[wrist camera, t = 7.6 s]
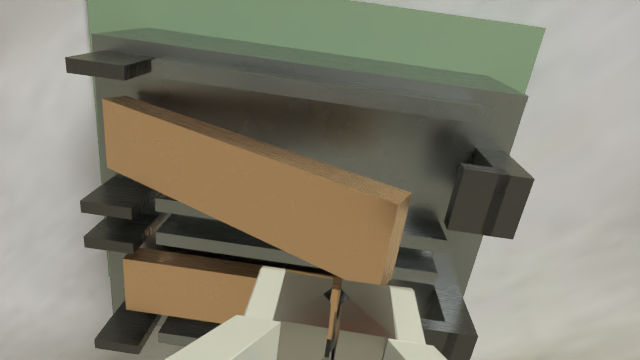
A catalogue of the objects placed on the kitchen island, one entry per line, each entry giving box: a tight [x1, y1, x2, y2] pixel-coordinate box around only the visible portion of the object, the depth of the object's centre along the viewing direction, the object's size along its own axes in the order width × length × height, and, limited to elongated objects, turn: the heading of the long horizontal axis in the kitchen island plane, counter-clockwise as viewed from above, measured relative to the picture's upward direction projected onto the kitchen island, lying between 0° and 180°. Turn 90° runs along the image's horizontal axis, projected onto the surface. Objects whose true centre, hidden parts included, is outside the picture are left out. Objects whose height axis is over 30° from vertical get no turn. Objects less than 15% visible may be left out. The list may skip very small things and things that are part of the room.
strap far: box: [123, 248, 393, 339], centre depth 19 cm, size 12×3×1 cm, turn 82°
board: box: [87, 0, 546, 276], centre depth 24 cm, size 22×18×1 cm
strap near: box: [102, 96, 412, 285], centre depth 14 cm, size 12×3×1 cm
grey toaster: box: [65, 28, 534, 360], centre depth 20 cm, size 17×14×8 cm
